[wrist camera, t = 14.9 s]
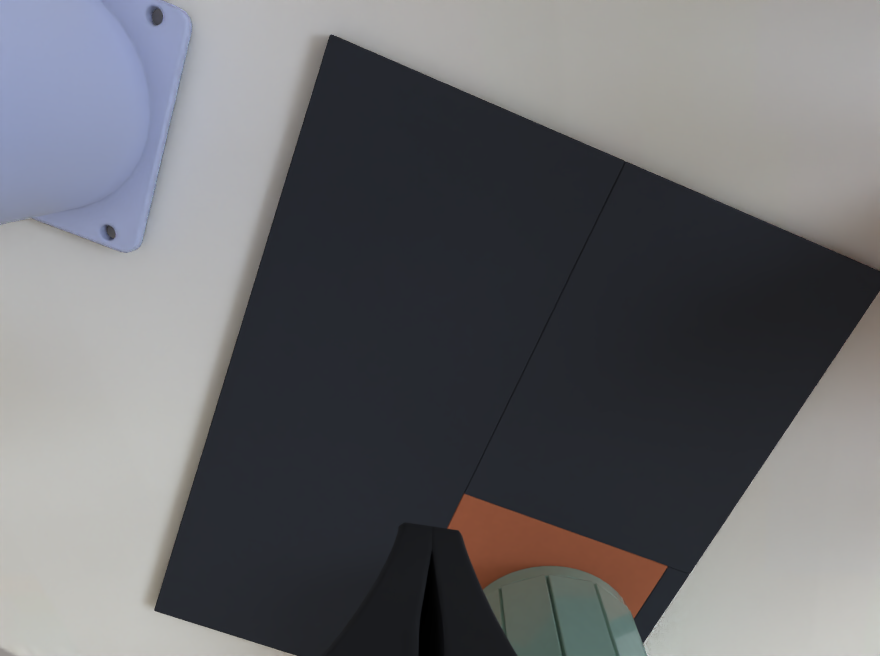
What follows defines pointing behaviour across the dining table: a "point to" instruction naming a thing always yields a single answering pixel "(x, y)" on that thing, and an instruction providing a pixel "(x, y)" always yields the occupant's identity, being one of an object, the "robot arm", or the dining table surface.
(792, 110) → the dining table surface
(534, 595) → the cup
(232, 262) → the dining table surface
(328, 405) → the mat
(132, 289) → the dining table surface
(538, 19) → the dining table surface
